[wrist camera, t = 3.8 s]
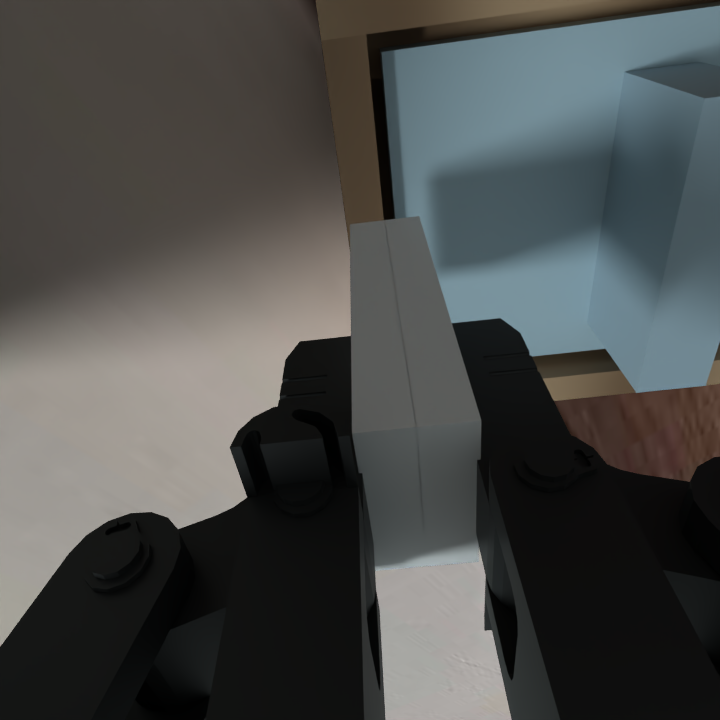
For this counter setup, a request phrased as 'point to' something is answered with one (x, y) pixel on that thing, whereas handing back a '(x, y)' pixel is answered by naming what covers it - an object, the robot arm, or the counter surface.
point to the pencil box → (368, 125)
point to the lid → (571, 183)
